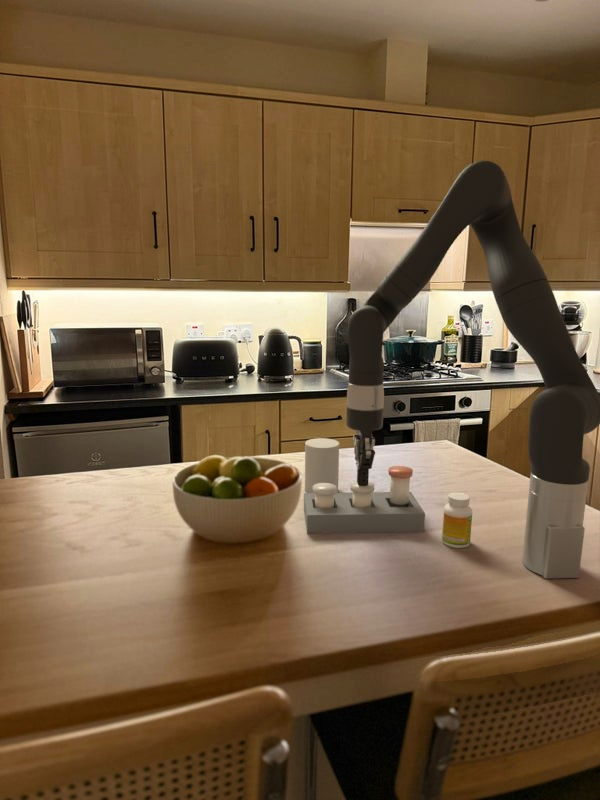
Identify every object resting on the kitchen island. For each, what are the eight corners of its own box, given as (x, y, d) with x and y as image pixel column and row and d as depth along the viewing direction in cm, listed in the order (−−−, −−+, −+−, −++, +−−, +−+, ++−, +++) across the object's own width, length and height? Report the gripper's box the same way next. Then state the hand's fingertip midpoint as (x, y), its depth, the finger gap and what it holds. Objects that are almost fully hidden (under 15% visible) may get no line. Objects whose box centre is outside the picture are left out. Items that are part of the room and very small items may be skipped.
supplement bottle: (471, 550, 110) (474, 502, 108) (442, 547, 111) (445, 500, 109) (468, 537, 115) (472, 492, 113) (441, 535, 116) (444, 489, 114)
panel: (424, 531, 117) (425, 513, 117) (307, 533, 116) (307, 515, 115) (410, 508, 129) (411, 491, 128) (303, 510, 128) (303, 493, 127)
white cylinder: (338, 485, 144) (339, 438, 141) (337, 497, 136) (338, 448, 133) (306, 483, 144) (306, 437, 142) (303, 495, 136) (303, 447, 134)
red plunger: (413, 505, 120) (415, 473, 118) (390, 505, 120) (391, 473, 118) (408, 496, 125) (409, 465, 123) (385, 496, 125) (386, 465, 123)
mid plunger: (375, 520, 120) (376, 488, 119) (351, 520, 120) (352, 489, 118) (371, 511, 125) (372, 480, 124) (348, 511, 125) (349, 480, 123)
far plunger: (337, 522, 120) (337, 491, 118) (313, 523, 120) (313, 491, 118) (334, 513, 125) (335, 482, 123) (311, 513, 125) (311, 482, 123)
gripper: (389, 412, 111) (386, 496, 115) (377, 397, 124) (374, 473, 128) (351, 412, 111) (348, 496, 114) (343, 397, 124) (341, 474, 127)
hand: (362, 484), depth 121 cm, fingers closed
